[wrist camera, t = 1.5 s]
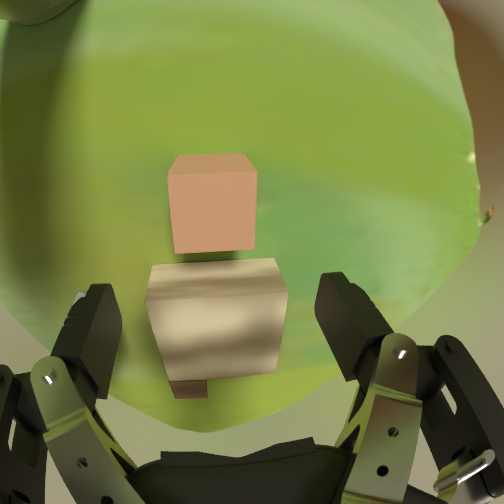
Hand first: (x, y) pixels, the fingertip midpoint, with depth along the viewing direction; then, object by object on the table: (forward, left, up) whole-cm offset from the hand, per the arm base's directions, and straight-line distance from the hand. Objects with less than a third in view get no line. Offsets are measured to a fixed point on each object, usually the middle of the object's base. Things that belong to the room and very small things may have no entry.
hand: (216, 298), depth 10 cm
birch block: (+12, 0, -13) cm, 18 cm away
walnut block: (+22, -4, -13) cm, 26 cm away
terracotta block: (0, 0, -13) cm, 13 cm away
